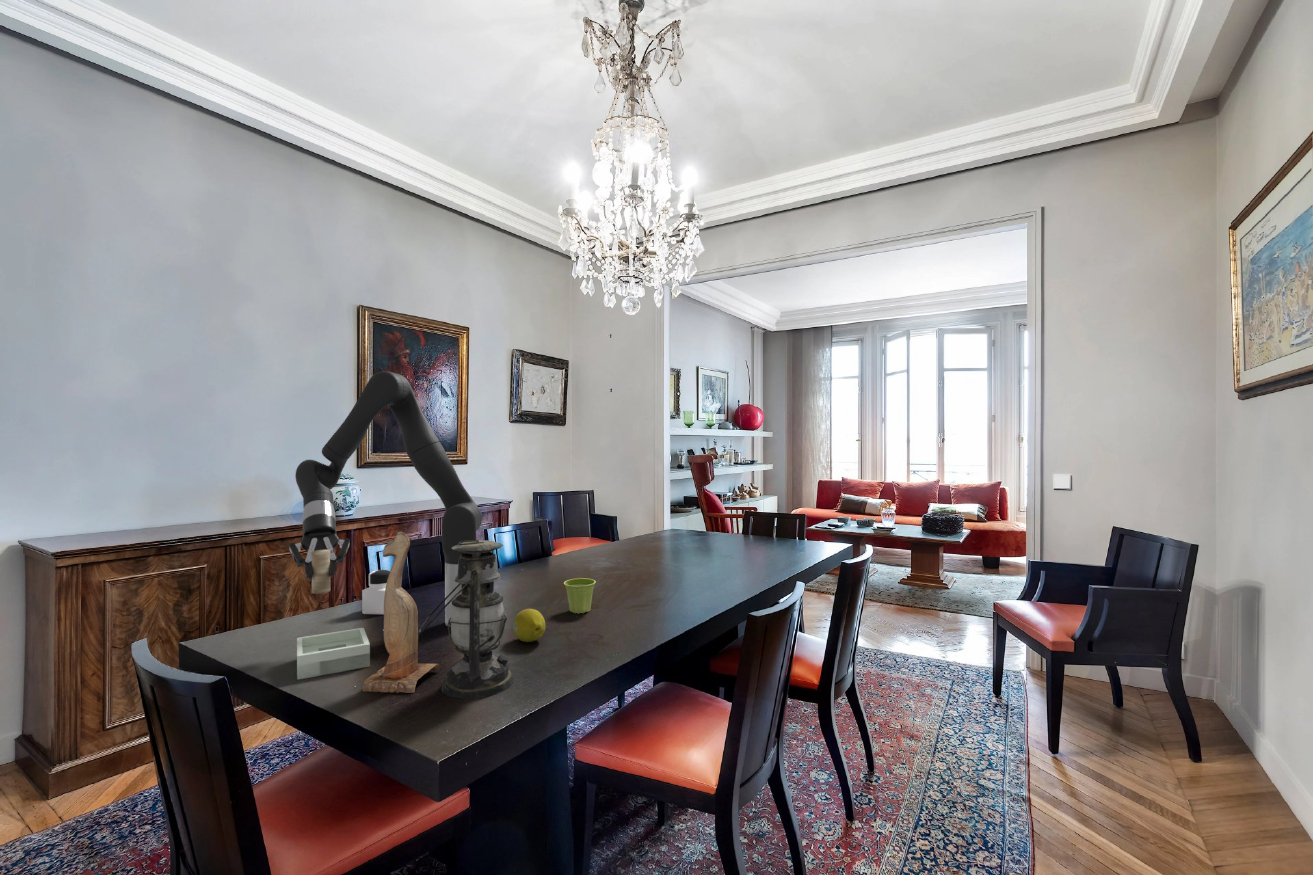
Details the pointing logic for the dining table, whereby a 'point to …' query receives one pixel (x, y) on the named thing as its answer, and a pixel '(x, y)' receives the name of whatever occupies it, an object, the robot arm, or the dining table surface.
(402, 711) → the dining table surface
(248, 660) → the dining table surface
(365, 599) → the medicine bottle
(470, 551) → the lantern
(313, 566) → the peg
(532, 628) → the lemon
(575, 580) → the plant pot
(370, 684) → the bird sculpture
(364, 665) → the socket box
